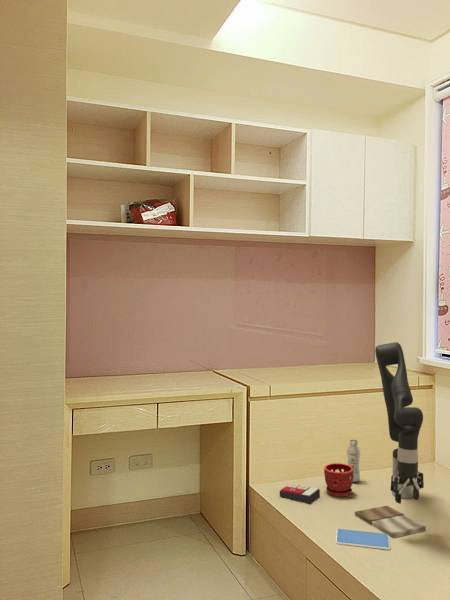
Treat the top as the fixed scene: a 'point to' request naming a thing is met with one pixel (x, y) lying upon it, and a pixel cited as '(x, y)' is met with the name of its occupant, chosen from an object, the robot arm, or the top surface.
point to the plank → (398, 526)
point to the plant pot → (338, 479)
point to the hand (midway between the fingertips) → (407, 501)
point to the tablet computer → (363, 539)
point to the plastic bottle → (354, 459)
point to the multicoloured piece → (300, 493)
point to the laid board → (377, 514)
